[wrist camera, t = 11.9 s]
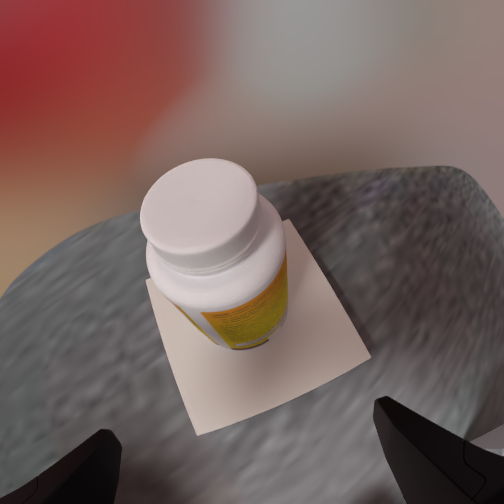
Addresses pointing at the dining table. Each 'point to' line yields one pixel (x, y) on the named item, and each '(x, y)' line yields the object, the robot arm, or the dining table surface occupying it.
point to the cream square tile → (262, 350)
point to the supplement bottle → (218, 252)
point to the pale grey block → (492, 441)
